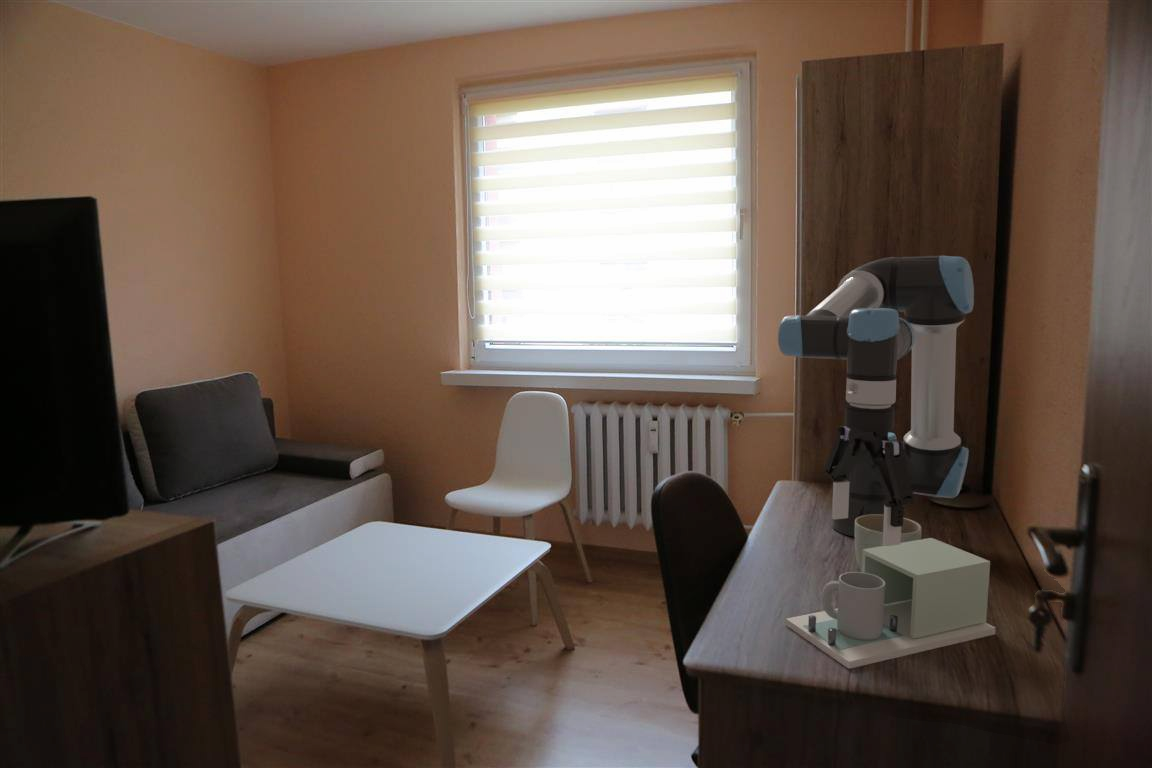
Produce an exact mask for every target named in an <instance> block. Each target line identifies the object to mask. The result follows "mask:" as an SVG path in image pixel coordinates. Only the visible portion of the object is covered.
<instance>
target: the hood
mask: <svg viewBox="0 0 1152 768" xmlns="http://www.w3.org/2000/svg"><path fill="white" fill-rule="evenodd" d="M860 570H861V569H860ZM990 570H991V561H990V560H989V559H985V558H983V557H980V556H979V555H975V554H973V553H970V552H968V551H965V550H963V549H961V548H958V547H955V546H953V545H951V544H948V543H946V542H943V541H940V540H939V539H935V538H934V537H933V538H932V537H928V538H921V540H915V541H909V542H903V543H900V545H892V546H880V547H874V548H868V549H862V570H861V571H860V572H863V573H868V574H872V575H875V576H878V577H880V578H882V579H883V580H884V581H885V597H884V605H886V604H891V603H896V602H901V601H906V600H911V599H912V611H911V630H910V636H911V637H912V638H918V637H922V636H926V635H931V634H935V633H940V632H944V631H948V630H953V629H957V628H962V627H966V626H970V625H975V624H979V623H984V622H985V623H987V616H988V615H987V613H988V600H989V585H990V584H989V583H990V573H991V571H990Z"/></svg>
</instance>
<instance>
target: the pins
mask: <svg viewBox="0 0 1152 768" xmlns="http://www.w3.org/2000/svg"><path fill="white" fill-rule="evenodd" d="M897 623H898V617H897V616H895V615H890V626H889V630H890V631H892V632H897ZM808 631H809V632H811V633H813V632H815V631H816V616H813V615H810V616H809V621H808ZM828 645H830V646H834V645H836V629H834V628H829V629H828Z"/></svg>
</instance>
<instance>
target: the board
mask: <svg viewBox="0 0 1152 768" xmlns="http://www.w3.org/2000/svg"><path fill="white" fill-rule="evenodd" d="M835 609H836V610H838V607H837V608H835ZM911 611H912V599H911V600H906V601H901V602H896V603H891V604H886V605H884V618H883V632H882V635H881V636H880V637H879V638H877V639H875V640H867V641H866V640H857V639H853V638H850V637H847V636H845V635H844V634H842V633H841V632H840V631H839V629H838V627H837V619H833V618H832V617H830V616H828V614H827V613H826V612H825V610H823V611H822V610H821V611H817V612H813V613H807V614H803V615H797V616H793V617H787V618H785V626H786V627H787V628H789V629H790V630H792V631H793V632H795V633H796V634H797V635H799V636H801V637H802V638H803V639H805V640H806V641H808V642H809V643H811V644H812V645H813V646H816V648H818V649H819V650H821V651H822V652H824V653H825V654H827V656H829V657H831V658H832V659H834V660H835V661H837V662H838V663H840V664H841V665H843V666H844V667H845V668H847V669H854V668H859V667H863V666H866V665H871V664H875V663H876V664H877V663H880V662H883V661H887V660H888V661H889V660H892V659H897V658H900V657H901V658H902V657H905V656H909V655H913V654H918V653H922V652H925V651H931V650H934V649H939V648H942V647H947V646H951V645H955V644H960V643H964V642H968V641H972V640H977V639H981V638H986V637H989V636H994V635H996V626H994V625H993V626H992V624H990V623H987V622H984V623H979V624H975V625H970V626H966V627H962V628H957V629H953V630H948V631H944V632H940V633H935V634H931V635H926V636H922V637H918V638H912V637H911V636H910V630H911ZM810 615H813V616H816V631H815V632H813V633H811V632H809V631H808V621H809V616H810ZM890 615H895V616H897V617H898V623H897V632H892V631H890V630H889V626H890ZM829 628H834V629H836V645H834V646H830V645H828V629H829Z"/></svg>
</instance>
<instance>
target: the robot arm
mask: <svg viewBox="0 0 1152 768" xmlns="http://www.w3.org/2000/svg"><path fill="white" fill-rule="evenodd" d="M974 296H975V286H974V279H973V273H972V269H971V266H970V263H969V261H968V260H967V259H966V258H965V257H963V256H953V255H952V256H950V255H945V254H944V255H925V256H923V255H922V256H903V257H902V256H900V257H898V256H890V257H884V258H880V259H876V260H873V261H869V262H868V263H865V264H863V265H861V266H858V267H856V268H855V269H853V270H851V271H850V272H848V273H847V274H846V275H845V276H843V277H842V278H841V279H840V281H839V283H838V285H837V288H836V289H835V290H834V291H833V292H832V293H831V294H830V295H828V296H827V297H826V298H825V299H824V300H822V301H821V302H820V303H818V305H817V306H815V307H814V308H813V309H812V310H811V311H809V312H808V313H807V314H806V315H800V314H796V315H787V316H784V317H783V318H782V319H781V321H780V323H779V326H778V331H777V341H778V342H777V343H778V348H779V351H780V352H781V354H783V355H784V356H787V357H796V358H799V359H802V358H803V359H804V358H805V359H807V358H808V359H827V360H829V359H832V360H846V383H845V384H846V386H845V387H846V388H845V400H846V402H847V404H846V405H845V406H844V424H843V425H844V426H843V425H841V426H838V427H837V428H836V434H835V435H836V436H835V440H834V443H833V446H832V448H831V451H830V454H829V455H828V456H829V457H828V459H827V462H826V465H825V466H824V469H823V470H824V473H825V475H829V477H830V481H832V482H831V483H832V487H831V496H832V508H831V528H832V529H833V530H835V531H836V532H838V533H840V534H842V535H846V536H848V537H849V536H850V537H854V538H855V519H856V518H858V517H860V516H863V515H871V514H884V523H883V545H884V546H892V545H900V543H901V526H902V525H903V518H904V515H905V512H904V511H905V506H911V505H915V503H916V499H915V495H922V496H928V497H933V498H935V499H936V498H945V499H946V498H947V499H953V498H956V497H957V496H959V494H960V491H961V490H962V486H963V482H964V478H965V476H966V475H965V474H966V471H967V470H966V469H967V466H968V462H969V454H970V453H969V451H970V450H969V448H968V447H965V446H962V440H961V437H960V436H959V435H958V434H957V433H956V432H955V431H954V427H955V426H954V424H955V423H954V422H955V391H956V390H955V388H956V387H955V386H956V385H955V383H956V357H957V356H956V352H957V351H956V349H957V341H956V340H957V329H958V327H960V325H961V324H962V323H964V322H965V319H966V314H970V313H972V312H973V309H974V304H975V297H974ZM901 312H903V313H904V318H902V317H900V316H899V315H900V314H899V313H901ZM910 351H911V380H910V381H911V382H910V383H911V385H910V386H911V388H910V389H911V391H910V393H911V395H910V396H911V397H910V401H911V402H910V403H911V406H910V407H911V409H910V430H909V431H907V433H904V434H905V435H904V436H903V441H902V440H898V438H897V436H896V434H895V433H894V432H890V431H892V430H893V429H894V427H895V412H896V409H895V408H894V406H892V405H894V404H895V403H896V399H897V368H898V367H897V365H898V361H899V360H901V359H903V358H904V357H906V355H908V353H909V352H910ZM914 494H915V495H914Z"/></svg>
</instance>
